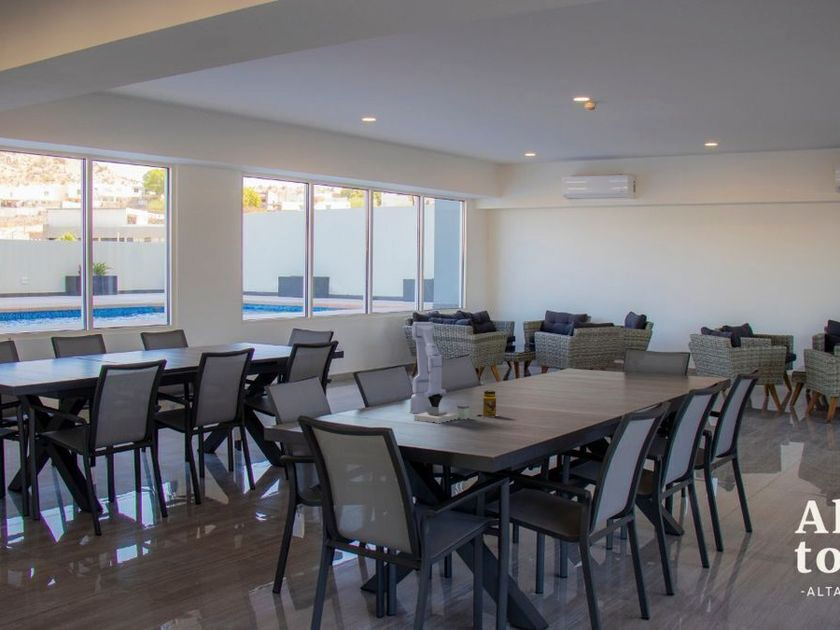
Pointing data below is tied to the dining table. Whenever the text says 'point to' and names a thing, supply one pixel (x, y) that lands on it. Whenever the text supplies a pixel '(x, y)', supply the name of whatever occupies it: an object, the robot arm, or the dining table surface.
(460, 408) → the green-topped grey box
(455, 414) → the socket
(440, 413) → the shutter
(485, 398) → the yellow metal cylinder
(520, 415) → the dining table surface
